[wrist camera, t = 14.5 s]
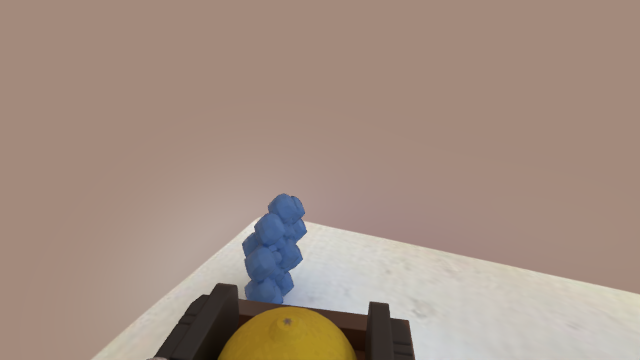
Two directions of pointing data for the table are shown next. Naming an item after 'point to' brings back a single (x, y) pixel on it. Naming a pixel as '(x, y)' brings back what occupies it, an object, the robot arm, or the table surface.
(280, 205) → the grapes
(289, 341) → the lemon
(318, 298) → the table surface
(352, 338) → the tray
